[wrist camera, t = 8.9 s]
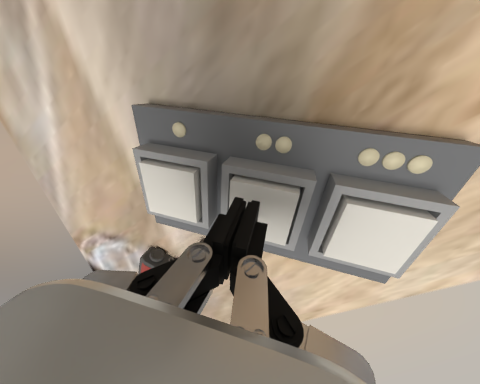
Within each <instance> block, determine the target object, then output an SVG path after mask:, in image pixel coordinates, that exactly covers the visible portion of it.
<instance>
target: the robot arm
mask: <svg viewBox="0 0 480 384" xmlns="http://www.w3.org/2000/svg"><path fill="white" fill-rule="evenodd" d="M259 207H260V202H259V201H254V200H252V201H251V202H248V204H247V207H246V201H244V199H243V198H239V197H235V198H234V200H233V202H232V204H231V206H230V208H229V210H228V212H227V214H226V215H225V214H219V215H218V217H217V218H216V220H215V222H214V224H213V225H212V227H211V229H210V231H209V232H208V234H207V236H206V238H205V239H204V241H203V243H202V242H200V243H194V244H192V245H190V246H189V247H188V248H187V249H186V250H185V251H184V252H183V253H182V255H181V256H180V257H179V258H177V259H174V260H172V261H169V262H167V263H164V264H162V265H159V266H157V267H154V268H151V269H149V270H146V271H144V272H142V273H140V274H137V272H132V271H110V270H98V271H94V272H92V273H90V274H88V275H87V276H85V277H84V278H83V279H63V280H55V281H49V282H45V283H41V284H38V285H36V286H33V287H30V288H29V289H27V290H25V291H23V292H21V293H20V294H18V295H16V296H15V297H13V298H12V299H10V300H9V301H7V302H6V303H4V304H3V305H1V306H0V384H376V383H375V378H374V373H373V371H372V369H371V367H370V365H369V363H368V362H367V361H366V360H365V358H364V357H363V356H362V355H360V354H359V353H358V352H357V351H355V350H353V349H351V348H350V347H348V346H346V345H345V344H343V343H341V342H339V341H337V340H336V339H334V338H332V337H330V336H329V335H327V334H325V333H323V332H322V331H320V330H318V329H316V328H314V327H313V326H311V325H310V326H307V325H305V324H303V323H302V322H301V321H300V320H299V318H298V316H297V315H296V314H295V312H294V311H293V310H292V308H291V307H290V306H289V304H288V303H287V302H286V300H285V299H284V298H283V296H282V295H281V294H280V292H279V291H278V290H277V288H276V287H275V286H274V284H273V283H272V282H271V280H270V279H269V278H268V276H267V266H266V264H265V262H264V261H263V260H262V253H263V248H264V242H265V237H266V231H267V226H268V224H266V223H261V222H257V221H258V214H259ZM229 274H230V290H231V292H232V294H233V296H234V298H233V306H232V314H231V322H230V324H227V323H224V322H221V321H218V320H215V319H212V318H209V317H206V316H203V315H200V314H201V312H202V310H203V308H204V306H205V305H206V303H207V301H208V299H209V297H210V296H211V294H212V292H213V289H214V288H216V287H218V286H219V284H223V281H224V279H226V280H227V279H228V277H229Z"/></svg>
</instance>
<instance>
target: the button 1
mask: <svg viewBox="0 0 480 384" xmlns="http://www.w3.org/2000/svg"><path fill="white" fill-rule="evenodd" d="M139 165H140V170H141V174H142V179H143V183H144V188H145V192H146V197H147V201H148V205H149V210H150V211H151V212H155V213H159V214H163V215H167V216H171V217H175V218H178V219H182V220H186V221H190V222H194V223H197V222H198V221H199V220H200V218H201V217H202V197H201V173H200V168H199V167H194V166H189V165H183V164H178V163H173V162H167V161H162V160H156V159H151V158H148V159H146V160H143V161H141V162H139Z"/></svg>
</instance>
